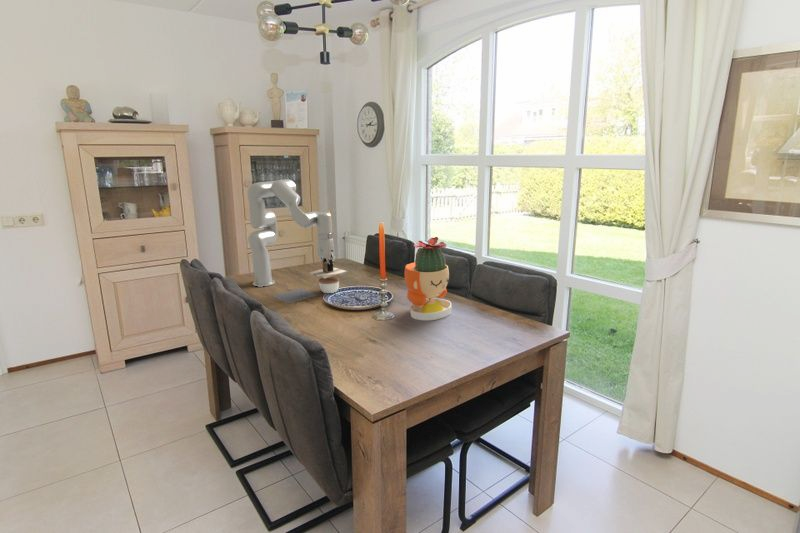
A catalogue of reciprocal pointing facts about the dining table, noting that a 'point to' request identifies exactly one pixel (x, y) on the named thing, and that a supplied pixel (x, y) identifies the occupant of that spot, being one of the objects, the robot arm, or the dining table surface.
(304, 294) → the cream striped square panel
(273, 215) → the robot arm
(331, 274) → the birch lid
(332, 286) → the lidded jar
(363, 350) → the dining table surface
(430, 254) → the potted cactus
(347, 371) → the dining table surface
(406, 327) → the dining table surface
